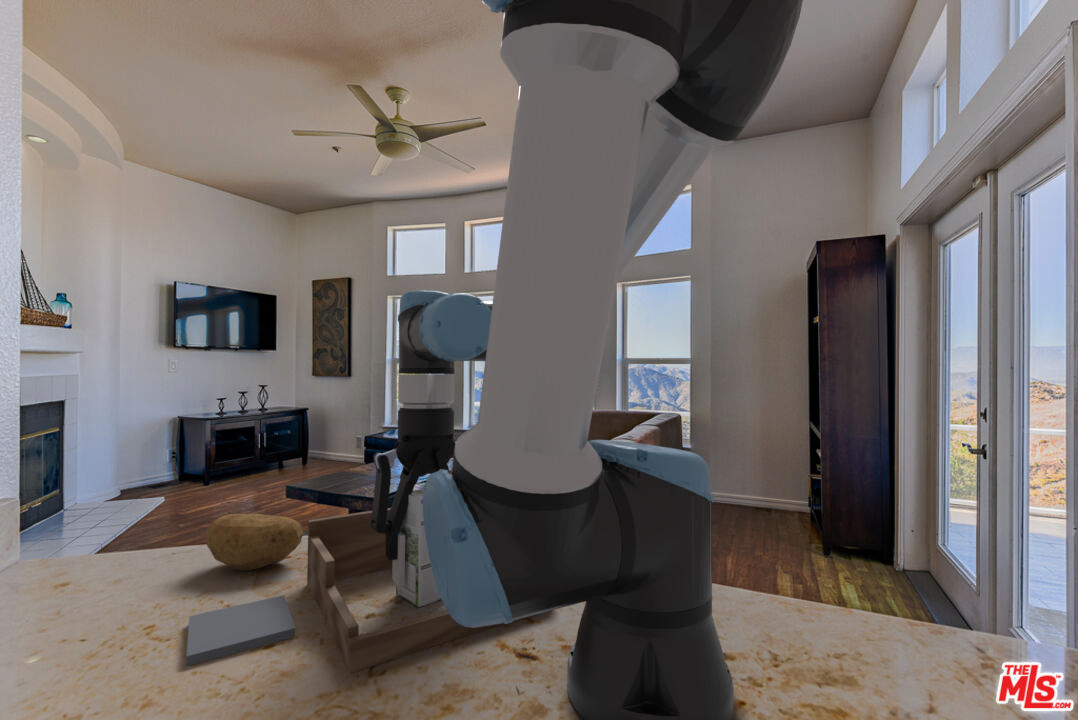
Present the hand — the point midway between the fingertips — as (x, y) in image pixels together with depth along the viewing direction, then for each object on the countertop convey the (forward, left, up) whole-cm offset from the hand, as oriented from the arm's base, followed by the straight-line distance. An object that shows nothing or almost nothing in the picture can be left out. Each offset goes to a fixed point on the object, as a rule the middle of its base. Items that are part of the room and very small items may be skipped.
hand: (424, 576), depth 66 cm
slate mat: (+3, +21, -2) cm, 21 cm away
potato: (+24, +18, -3) cm, 30 cm away
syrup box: (0, 0, -3) cm, 3 cm away
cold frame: (0, 0, -2) cm, 2 cm away
